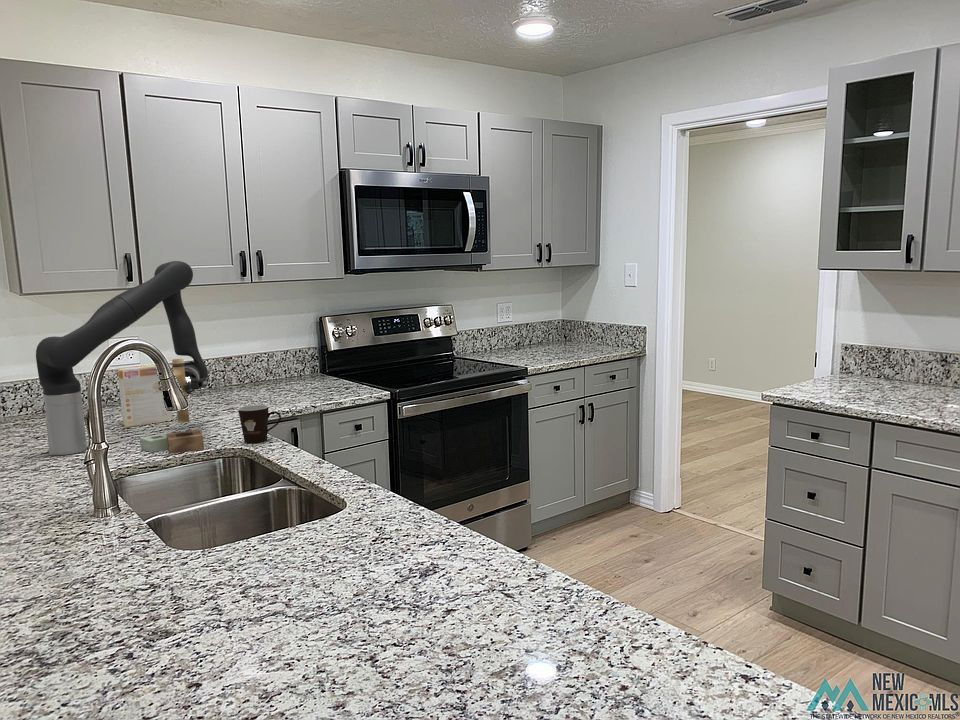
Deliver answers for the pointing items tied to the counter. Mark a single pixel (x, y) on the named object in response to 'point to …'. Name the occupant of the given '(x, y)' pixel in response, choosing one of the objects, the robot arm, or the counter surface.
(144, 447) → the bead
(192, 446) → the slotted wooden block
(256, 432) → the coffee mug
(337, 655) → the counter surface
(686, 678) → the counter surface
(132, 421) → the coffeecake box
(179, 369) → the tan wooden bar
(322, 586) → the counter surface
